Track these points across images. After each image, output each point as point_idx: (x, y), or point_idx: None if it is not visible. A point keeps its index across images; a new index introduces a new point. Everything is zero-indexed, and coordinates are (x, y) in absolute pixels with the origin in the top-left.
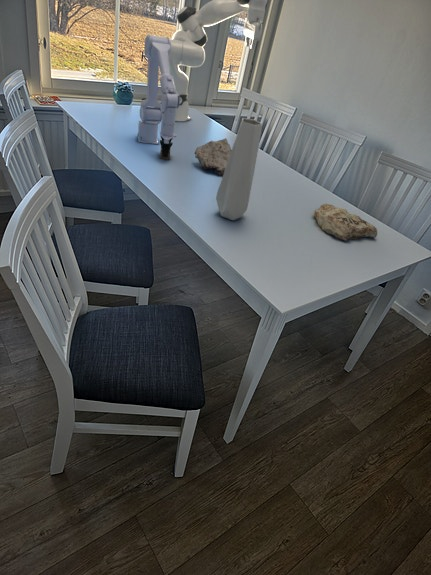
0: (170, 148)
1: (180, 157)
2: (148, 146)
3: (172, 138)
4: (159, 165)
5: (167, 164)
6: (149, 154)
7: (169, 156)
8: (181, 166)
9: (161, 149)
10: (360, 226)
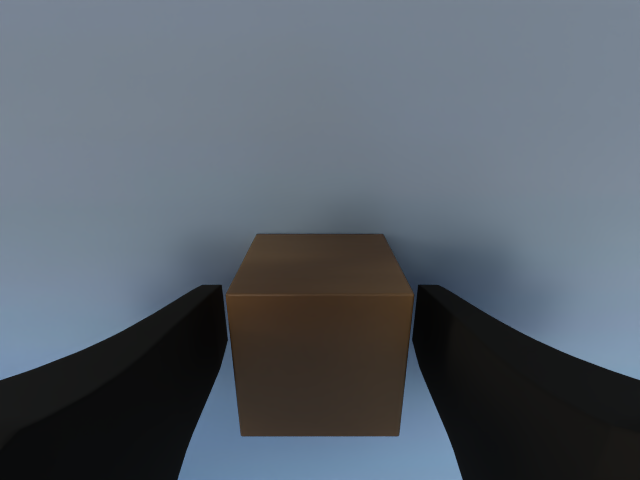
0: (270, 294)
1: (211, 65)
2: None
3: (41, 429)
4: (596, 337)
5: (551, 254)
6: None
7: (393, 255)
8: (601, 49)
9: (397, 427)
10: None
